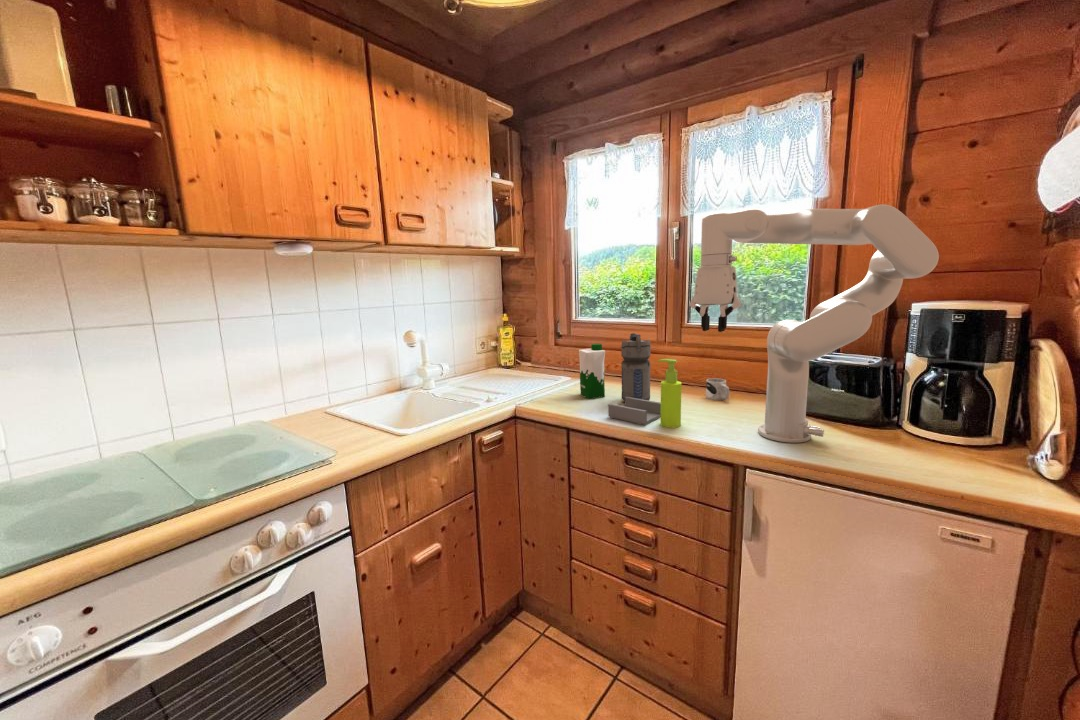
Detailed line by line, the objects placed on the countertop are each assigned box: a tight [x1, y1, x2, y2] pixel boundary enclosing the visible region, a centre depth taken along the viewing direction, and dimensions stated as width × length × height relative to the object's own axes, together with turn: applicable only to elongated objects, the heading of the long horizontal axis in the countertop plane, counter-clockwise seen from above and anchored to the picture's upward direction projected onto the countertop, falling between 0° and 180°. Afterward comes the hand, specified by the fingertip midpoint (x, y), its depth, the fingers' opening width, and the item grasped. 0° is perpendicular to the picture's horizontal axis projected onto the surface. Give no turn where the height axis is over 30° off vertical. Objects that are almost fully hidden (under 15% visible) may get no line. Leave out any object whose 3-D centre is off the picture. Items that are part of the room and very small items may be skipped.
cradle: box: [607, 397, 661, 426], centre depth 137 cm, size 13×11×4 cm
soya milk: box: [578, 343, 606, 400], centre depth 163 cm, size 9×9×20 cm
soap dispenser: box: [657, 358, 683, 428], centre depth 128 cm, size 6×7×20 cm
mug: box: [705, 377, 730, 401], centre depth 153 cm, size 10×7×7 cm
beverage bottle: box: [620, 332, 652, 403], centre depth 153 cm, size 10×13×25 cm
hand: (713, 330), depth 116 cm, fingers open, 3 cm apart
